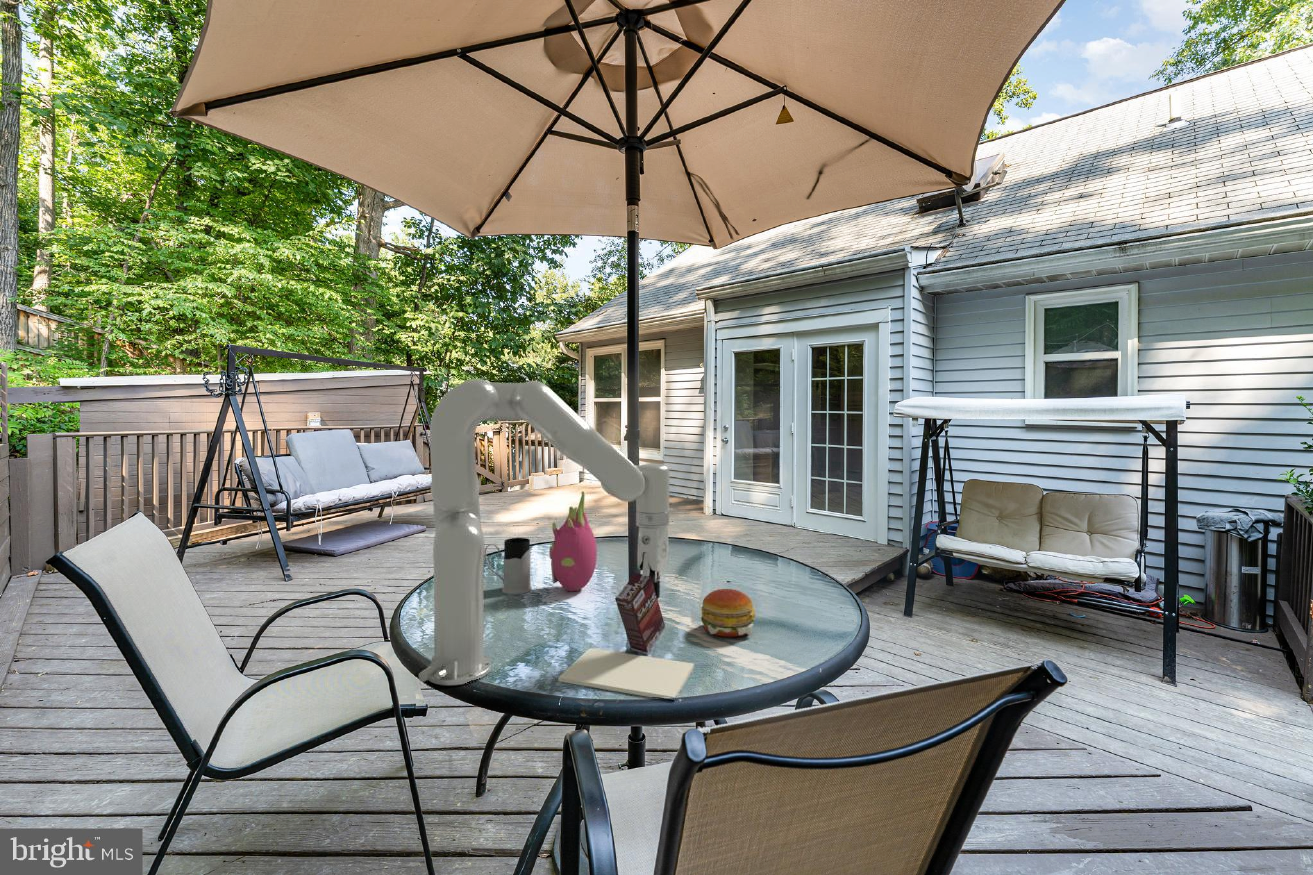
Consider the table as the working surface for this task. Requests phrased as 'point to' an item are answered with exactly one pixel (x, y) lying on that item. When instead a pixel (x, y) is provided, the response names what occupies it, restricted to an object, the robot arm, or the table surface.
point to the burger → (728, 613)
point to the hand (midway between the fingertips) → (652, 597)
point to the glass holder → (515, 565)
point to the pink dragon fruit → (573, 550)
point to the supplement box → (640, 613)
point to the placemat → (628, 673)
